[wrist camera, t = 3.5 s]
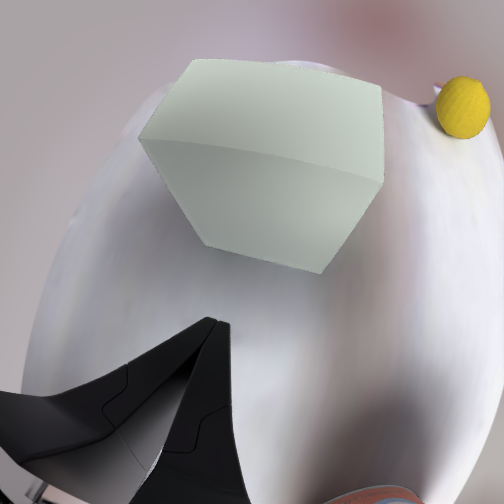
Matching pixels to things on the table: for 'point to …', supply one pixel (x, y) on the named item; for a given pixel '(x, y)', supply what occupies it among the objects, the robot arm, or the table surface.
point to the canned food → (378, 496)
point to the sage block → (269, 157)
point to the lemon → (463, 107)
